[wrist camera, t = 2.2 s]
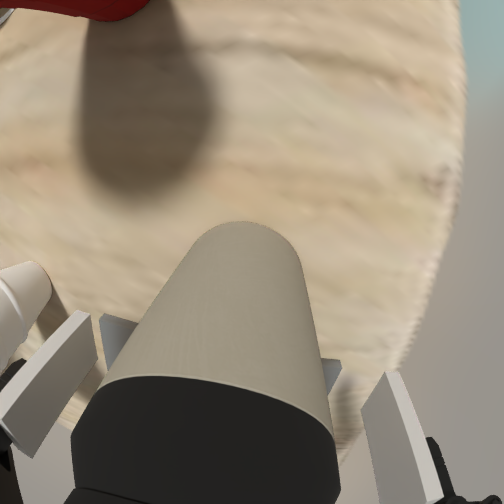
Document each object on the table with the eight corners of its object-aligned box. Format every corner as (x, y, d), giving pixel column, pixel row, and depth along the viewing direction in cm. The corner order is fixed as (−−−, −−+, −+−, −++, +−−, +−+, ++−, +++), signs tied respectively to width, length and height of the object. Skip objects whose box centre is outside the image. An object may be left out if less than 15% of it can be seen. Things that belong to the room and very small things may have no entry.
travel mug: (174, 229, 19) (-32, 478, 2) (296, 212, 18) (386, 591, 1) (200, 328, 21) (123, 564, 5) (305, 319, 20) (333, 586, 4)
